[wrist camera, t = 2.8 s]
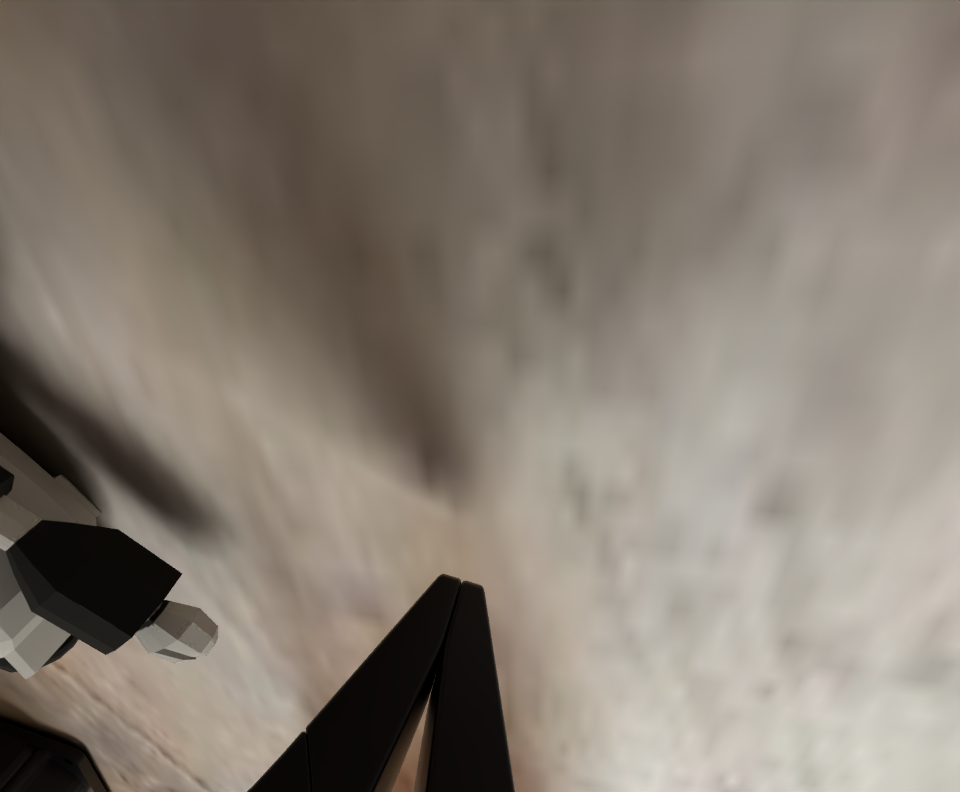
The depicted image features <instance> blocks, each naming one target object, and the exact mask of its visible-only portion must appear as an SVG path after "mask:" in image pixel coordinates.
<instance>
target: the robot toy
mask: <svg viewBox="0 0 960 792" xmlns="http://www.w3.org/2000/svg"><path fill="white" fill-rule="evenodd" d="M100 514H101V512H100V511H99V510H98V509H97V508H96V507H95V506H94V505H93V504H92V503H91V502H90V501H89V500H88V499H87V498H86V497H85V496H84V495H83V494H82V493H81V492H80V491H79V490H78V489H77V488H76V487H75V486H74V485H73V484H72V483H71V482H70V481H69V480H68V479H67V478H66V477H64V476H63V475H58V476H56V477H52V476H50V475H49V474H48V473H47V472H46V471H45V470H44V469H42V468H41V467H40V466H39V465H38V464H37V463H36V462H35V461H33V460H32V459H31V458H30V457H29V456H28V455H27V454H25V453H24V452H23V451H22V450H21V449H19V448H18V447H17V446H16V445H15V444H13V443H12V442H11V441H10V440H9V439H7V438H6V437H5V436H4V435H3V434H1V433H0V669H3V670H6V671H8V672H19V673H20V674H21V675H22V676H23V677H24V679H25V680H26V679H27V678H29V677H31V676H32V675H34V674H36V673H37V671H38V670H39V669H40V668H41V667H43V666H45V665H48V664H50V663H52V662H54V661H56V660H58V659H60V658H61V657H62V656H63V655H64V654H65V653H67V652H68V651H69V650H70V649H71V648H72V647H73V646H74V645H75V644H76V642H77V641H78V639H79V640H81V641H83V642H85V643H86V644H88V645H90V646H91V647H93V648H95V649H97V650H98V651H100V652H102V653H103V654H105V655H106V654H108V653H111V652H113V651H115V650H116V649H118V648H119V647H120V646H121V645H123V644H124V643H125V642H127V641H128V640H129V639H130V638H132V637H133V636H134V634H135V635H136V637H137V638H138V640H139V641H140V643H141V644H142V646H143V647H144V648H145V650H146V651H147V653H150V654H152V655H155V656H157V657H160V658H162V659H165V660H167V661H170V662H173V663H180V662H189V661H192V660H195V659H196V657H203V656H206V655H207V654H208V653H209V652H210V651H211V649H212V648H213V647H214V645H215V643H216V641H217V639H218V626H217V625H216V624H215V623H214V622H213V621H212V620H211V619H210V618H209V617H208V616H207V615H206V614H205V613H204V612H203V611H202V610H201V609H200V608H196V607H192V606H188V605H184V604H180V603H176V602H172V601H168V600H164V599H165V597H166V596H167V595H168V593H169V592H170V590H171V589H172V588H173V586H174V585H175V583H176V582H177V580H178V579H179V578H180V576H181V575H182V573H180V572H179V571H178V570H176V569H175V568H173V567H172V566H170V565H169V564H167V563H166V562H165V561H163V560H162V559H160V558H159V557H157V556H156V555H154V554H153V553H152V552H150V551H149V550H147V549H146V548H144V547H143V546H141V545H140V544H139V543H137V542H136V541H134V540H133V539H131V538H130V537H128V536H127V535H126V534H124V533H123V532H121V531H120V530H118V529H111V528H105V527H98V526H97V522H96V518H97V517H98V516H99V515H100Z"/></svg>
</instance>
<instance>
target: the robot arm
mask: <svg viewBox="0 0 960 792" xmlns="http://www.w3.org/2000/svg"><path fill="white" fill-rule="evenodd" d="M460 586H461V587H460ZM458 593H459V594H458ZM437 668H438V669H437ZM435 675H436V676H435ZM434 679H435V680H434ZM433 682H434V683H433ZM432 686H433V687H432ZM431 689H432V691H431ZM430 692H431V695H430ZM429 695H430V699H429ZM428 699H429V704H428V709H427V714H426V720H425V726H424V732H423V738H422V744H421V750H420V756H419V762H418V768H417V773H416V779H415V785H414V791H413V792H515V788H514V781H513V775H512V768H511V762H510V755H509V749H508V742H507V736H506V729H505V723H504V716H503V710H502V703H501V696H500V690H499V683H498V677H497V670H496V664H495V657H494V651H493V644H492V638H491V631H490V625H489V618H488V611H487V605H486V598H485V592H484V589H483V587H482V586H481V585H478V584H475V583H472V582H469V581H463V582H462V584H461V580H460V579H459V578H456V577H452V576H449V575H446V574H441V575H440V576H438V577H437V579H436V580H435V581H434V582H433V583H432V584H431V585H430V587H429V588H428V589H427V590H426V591H425V592H424V593H423V595H422V596H421V597H420V598H419V599H418V600H417V601H416V603H415V604H414V605H413V606H412V607H411V608H410V609H409V611H408V612H407V613H406V614H405V615H404V616H403V617H402V619H401V620H400V621H399V622H398V623H397V624H396V625H395V627H394V628H393V629H392V630H391V631H390V632H389V633H388V635H387V636H386V637H385V638H384V639H383V640H382V641H381V643H380V644H379V645H378V646H377V647H376V648H375V649H374V651H373V652H372V653H371V654H370V655H369V656H368V657H367V659H366V660H365V661H364V662H363V663H362V664H361V665H360V667H359V668H358V669H357V670H356V671H355V672H354V673H353V675H352V676H351V677H350V678H349V679H348V680H347V681H346V683H345V684H344V685H343V686H342V687H341V688H340V689H339V691H338V692H337V693H336V694H335V695H334V696H333V697H332V699H331V700H330V701H329V702H328V703H327V704H326V705H325V707H324V708H323V709H322V710H321V711H320V712H319V713H318V715H317V716H316V717H315V718H314V719H313V720H312V721H311V723H310V724H309V725H308V726H307V727H306V732H301V734H300V735H299V736H298V737H297V738H296V739H295V740H294V742H293V743H292V744H291V745H290V746H289V747H288V748H287V750H286V751H285V752H284V753H283V754H282V755H281V756H280V757H279V758H278V759H277V761H276V762H275V763H274V764H273V765H272V766H271V767H270V768H269V769H268V770H267V771H266V772H265V774H264V775H263V776H262V777H261V778H260V779H259V780H258V781H257V782H256V783H255V784H254V785H253V786H252V787H251V788H250V789H249V790H248V791H247V792H391V791H392V788H393V786H394V784H395V781H396V779H397V776H398V774H399V771H400V769H401V766H402V764H403V761H404V759H405V756H406V754H407V752H408V749H409V747H410V744H411V742H412V739H413V737H414V734H415V732H416V729H417V727H418V724H419V722H420V720H421V717H422V715H423V712H424V709H425V707H426V704H427V701H428ZM0 792H106V790H105V788H104V787H103V785H102V783H101V781H100V780H99V778H98V776H97V774H96V773H95V771H94V769H93V767H92V766H91V764H90V762H89V760H88V759H87V757H86V755H85V754H84V753H83V752H81V751H80V750H78V749H76V748H74V747H71V746H68V745H65V744H63V743H60V742H57V741H54V740H51V739H49V738H46V737H43V736H40V735H37V734H35V733H32V732H29V731H26V730H23V729H21V728H18V727H15V726H12V725H9V724H7V723H4V722H1V721H0Z"/></svg>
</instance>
